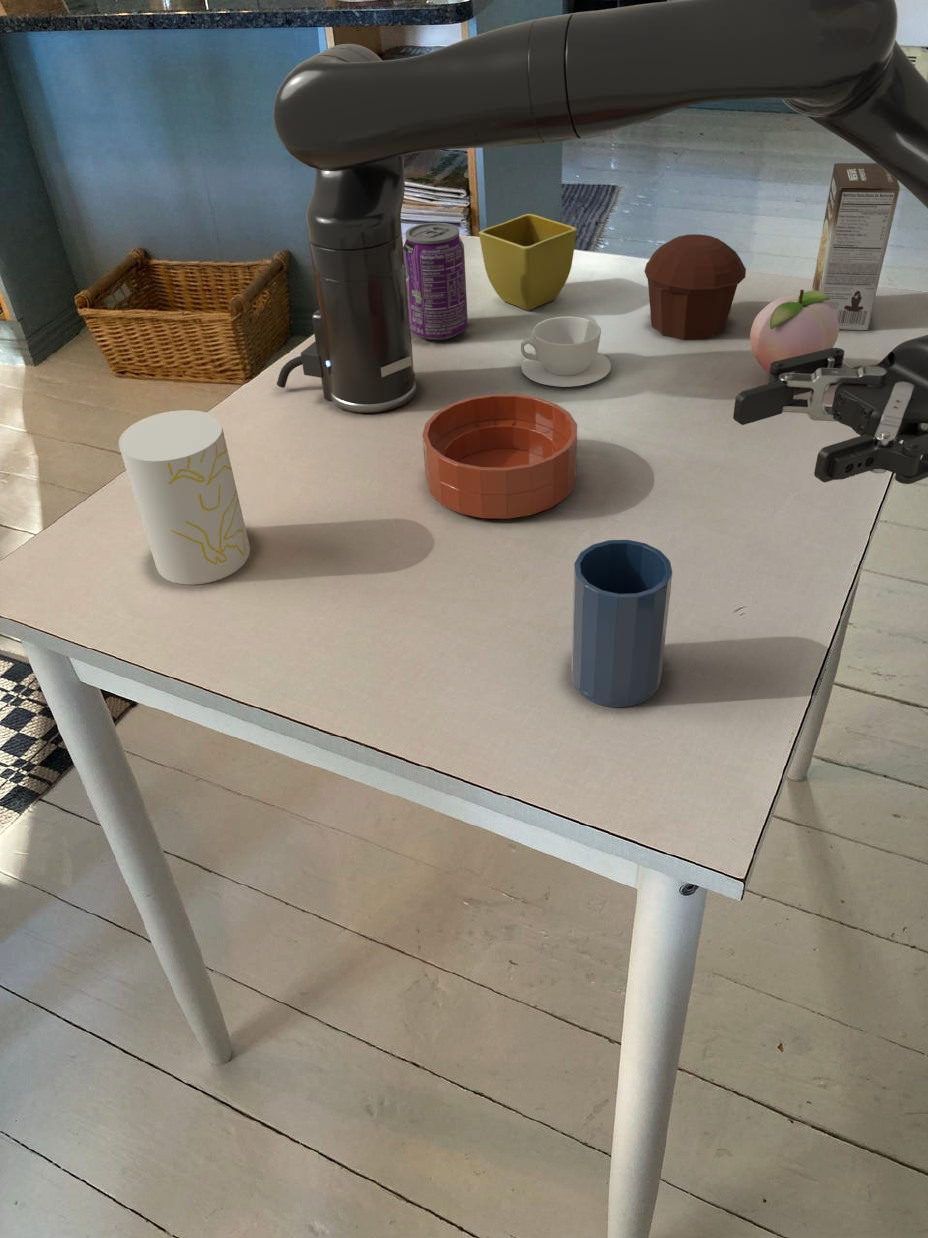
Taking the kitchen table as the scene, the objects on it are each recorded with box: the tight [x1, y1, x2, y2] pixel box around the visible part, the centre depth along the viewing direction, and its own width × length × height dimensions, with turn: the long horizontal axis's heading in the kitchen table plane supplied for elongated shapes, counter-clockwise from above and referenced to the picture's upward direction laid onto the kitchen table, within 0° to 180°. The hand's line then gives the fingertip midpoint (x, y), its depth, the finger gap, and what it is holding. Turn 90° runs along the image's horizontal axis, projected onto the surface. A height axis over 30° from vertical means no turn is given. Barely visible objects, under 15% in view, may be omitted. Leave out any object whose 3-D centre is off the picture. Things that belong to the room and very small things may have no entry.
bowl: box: [421, 393, 578, 520], centre depth 92 cm, size 14×14×6 cm
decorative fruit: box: [749, 289, 840, 374], centre depth 104 cm, size 9×8×10 cm
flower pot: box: [478, 213, 578, 311], centre depth 124 cm, size 9×9×9 cm
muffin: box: [643, 233, 747, 341], centre depth 116 cm, size 12×11×10 cm
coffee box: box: [811, 162, 901, 331], centre depth 114 cm, size 9×6×16 cm
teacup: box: [520, 316, 612, 388], centre depth 110 cm, size 10×10×5 cm
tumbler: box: [570, 539, 673, 708], centre depth 70 cm, size 6×6×10 cm
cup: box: [118, 409, 251, 586], centre depth 83 cm, size 8×8×12 cm
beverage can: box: [403, 222, 469, 341], centre depth 117 cm, size 7×7×12 cm
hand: (776, 437), depth 65 cm, fingers open, 8 cm apart
